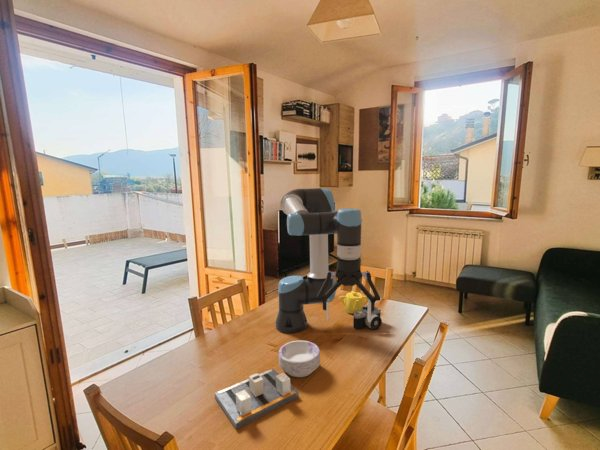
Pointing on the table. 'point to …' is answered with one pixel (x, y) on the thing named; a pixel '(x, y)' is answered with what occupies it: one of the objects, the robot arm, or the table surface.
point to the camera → (362, 321)
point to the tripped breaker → (256, 384)
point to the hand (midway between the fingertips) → (348, 319)
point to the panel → (256, 398)
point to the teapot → (353, 302)
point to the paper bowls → (299, 358)
